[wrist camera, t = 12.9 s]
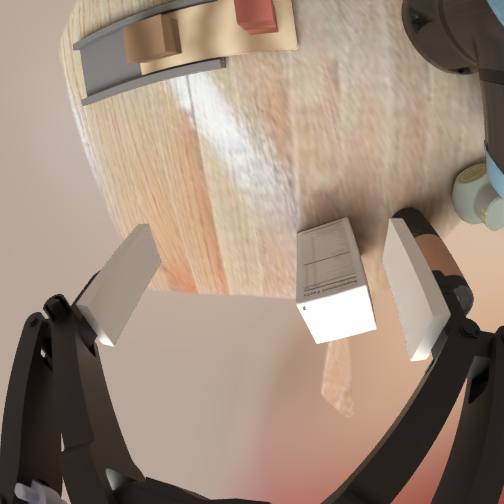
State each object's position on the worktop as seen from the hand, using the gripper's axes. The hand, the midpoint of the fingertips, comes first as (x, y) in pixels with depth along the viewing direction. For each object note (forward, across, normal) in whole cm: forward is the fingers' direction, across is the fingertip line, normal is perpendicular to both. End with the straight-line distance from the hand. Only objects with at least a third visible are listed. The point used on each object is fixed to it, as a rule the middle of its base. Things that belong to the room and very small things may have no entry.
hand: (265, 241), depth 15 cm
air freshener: (+29, +33, -8) cm, 44 cm away
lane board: (+29, -19, +16) cm, 38 cm away
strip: (+27, -8, +17) cm, 33 cm away
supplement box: (+29, +7, -20) cm, 36 cm away
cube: (+26, -15, +16) cm, 35 cm away
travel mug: (+29, +21, -16) cm, 39 cm away
